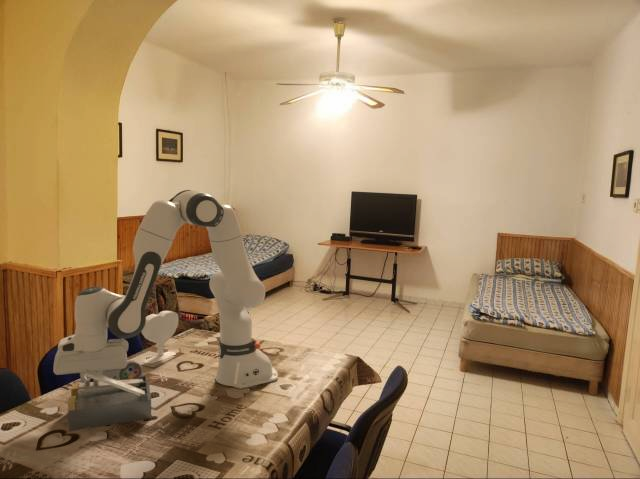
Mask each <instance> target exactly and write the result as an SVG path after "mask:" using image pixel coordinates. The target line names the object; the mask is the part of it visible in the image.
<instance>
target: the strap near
mask: <svg viewBox="0 0 640 479" xmlns="http://www.w3.org/2000/svg"><path fill="white" fill-rule="evenodd" d="M85 376H88V377H90V378H93V379H96V380H98V381H101V382H104V383H106V384H109V385H112V386H114V387H117V388H120V389H122V390H125V391H128V392H130V393H133V394H136V395H138V396H140V394H145V391H144V390H141V389H139V388H136V387H133V386H131V385H128V384H126V383H123V382H120V381H118V380H115V379H112V378H110V377H107V376H105V375H102V374H99V373H97V372H94V371H91V370H89V369H87V370H86V371H85Z"/></svg>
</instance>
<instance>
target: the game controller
mask: <svg viewBox="0 0 640 479" xmlns="http://www.w3.org/2000/svg"><path fill="white" fill-rule="evenodd" d="M94 372H97V373H98V371H94ZM102 375H105V376H107V377H110V378H112V379H115V380H130V379H139V376H141V375H143V367H142V365H141V363H140V362H138V361H137V360H135V359H127V366H126V367H125V368H124V369H113V370H103V374H102ZM86 377H87V378H90V377H88V376H86ZM90 382H94V379H93V378H90ZM99 382H101V381H99ZM80 383H84V380H83V379H82V378H81V377H80Z"/></svg>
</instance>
